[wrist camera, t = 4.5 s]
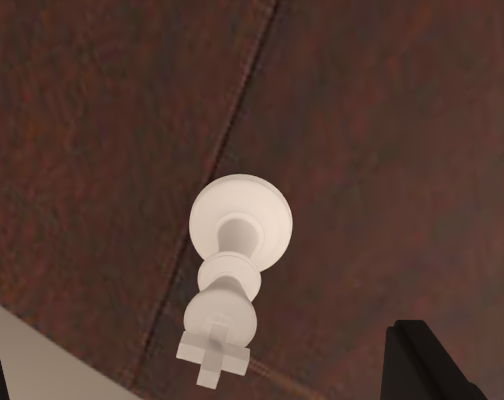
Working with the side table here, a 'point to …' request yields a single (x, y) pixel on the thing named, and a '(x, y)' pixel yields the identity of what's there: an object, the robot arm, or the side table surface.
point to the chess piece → (231, 269)
